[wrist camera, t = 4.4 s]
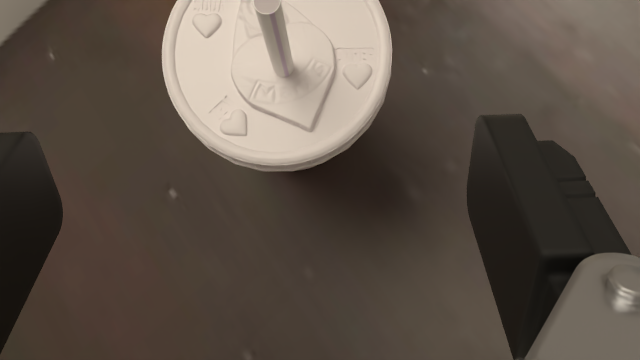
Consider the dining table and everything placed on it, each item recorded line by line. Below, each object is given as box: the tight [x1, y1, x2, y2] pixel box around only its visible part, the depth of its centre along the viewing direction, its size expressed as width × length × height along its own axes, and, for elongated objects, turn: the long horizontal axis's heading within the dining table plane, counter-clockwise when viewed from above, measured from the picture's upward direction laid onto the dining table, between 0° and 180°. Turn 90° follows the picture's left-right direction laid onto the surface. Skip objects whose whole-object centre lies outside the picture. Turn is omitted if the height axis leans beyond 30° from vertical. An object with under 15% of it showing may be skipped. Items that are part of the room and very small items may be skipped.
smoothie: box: [162, 0, 392, 171], centre depth 19 cm, size 6×6×14 cm
